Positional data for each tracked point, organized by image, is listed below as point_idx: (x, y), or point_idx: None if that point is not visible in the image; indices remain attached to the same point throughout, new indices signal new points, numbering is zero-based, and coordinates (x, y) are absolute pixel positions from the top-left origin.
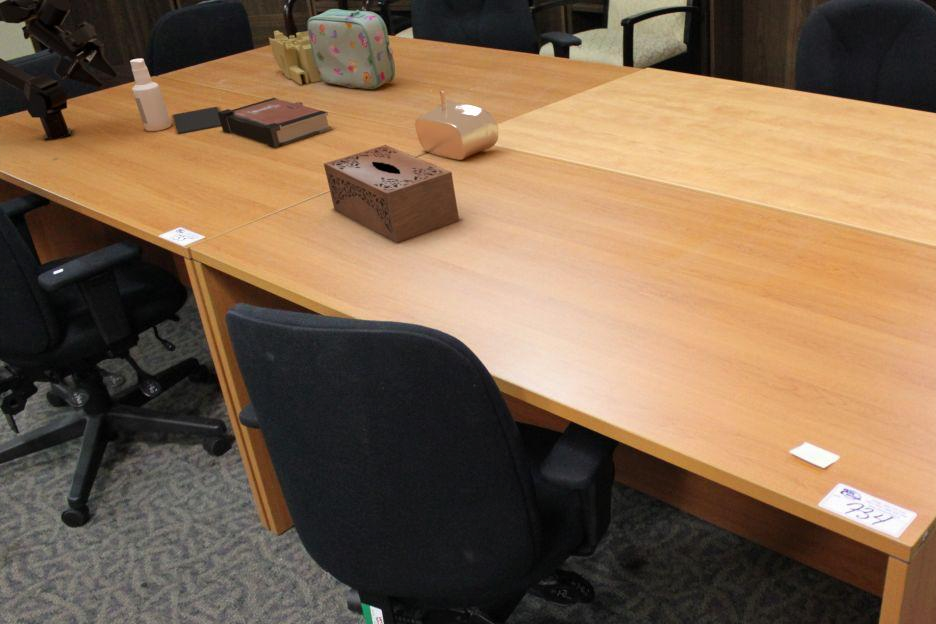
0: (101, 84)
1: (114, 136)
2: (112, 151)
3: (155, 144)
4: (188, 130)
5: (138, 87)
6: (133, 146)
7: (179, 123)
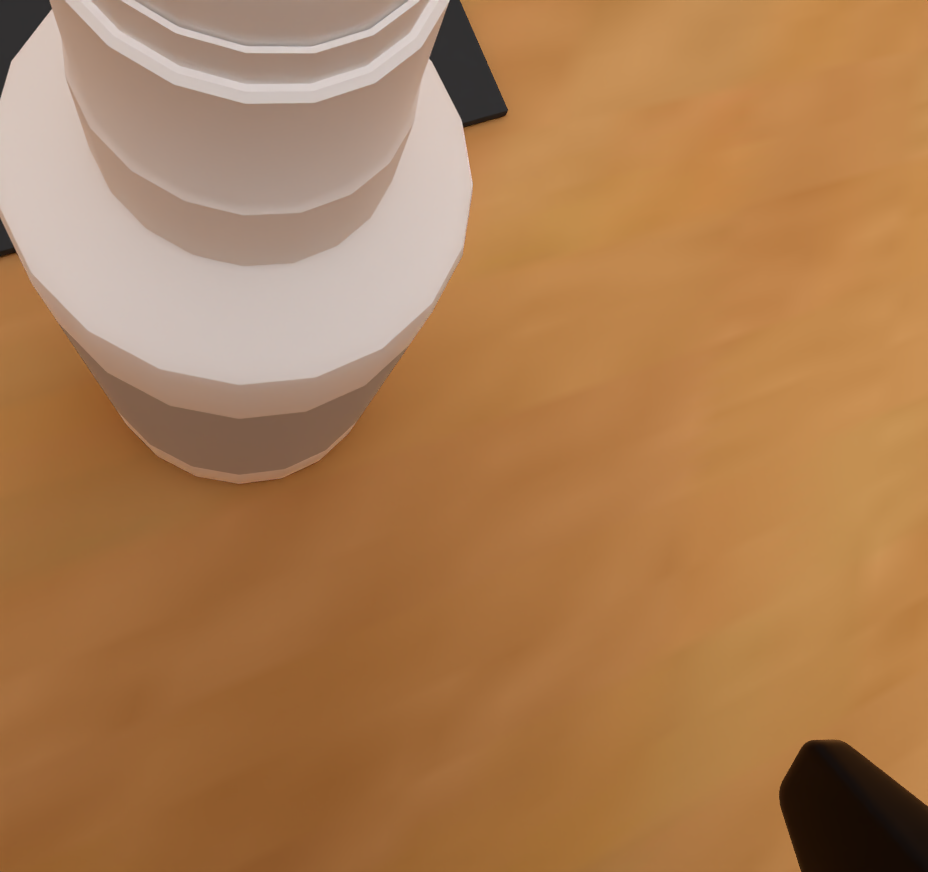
0: (841, 754)
1: (424, 752)
2: (849, 564)
3: (736, 246)
4: (459, 35)
5: (425, 207)
6: (755, 421)
7: None
